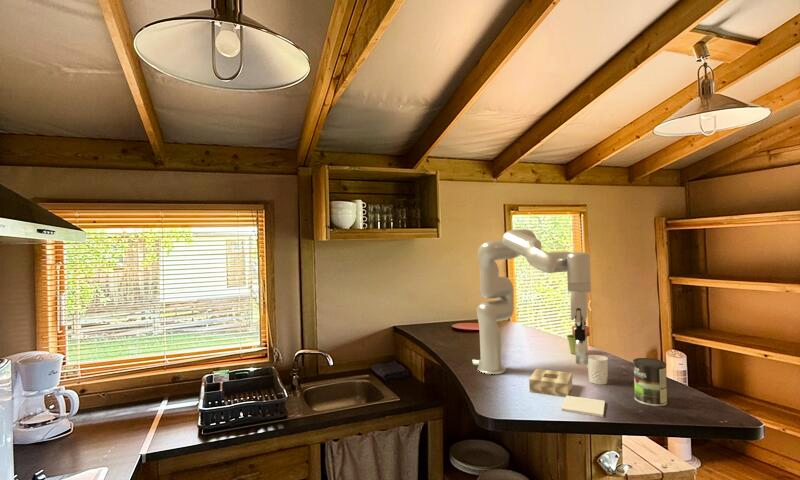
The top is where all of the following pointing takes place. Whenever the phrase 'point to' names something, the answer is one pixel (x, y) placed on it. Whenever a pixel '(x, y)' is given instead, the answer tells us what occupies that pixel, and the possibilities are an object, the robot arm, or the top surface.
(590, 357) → the white cup
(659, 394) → the coffee can
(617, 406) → the top surface
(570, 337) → the plant pot
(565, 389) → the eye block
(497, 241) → the robot arm
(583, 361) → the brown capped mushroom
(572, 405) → the pad
